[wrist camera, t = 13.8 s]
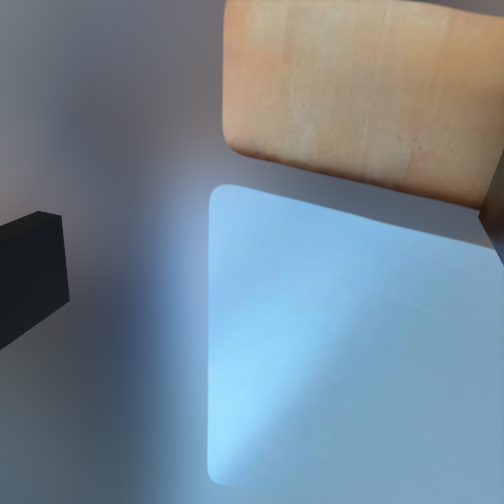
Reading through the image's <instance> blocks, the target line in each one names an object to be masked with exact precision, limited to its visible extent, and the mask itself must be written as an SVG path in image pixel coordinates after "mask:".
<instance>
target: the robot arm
mask: <svg viewBox="0 0 504 504" xmlns="http://www.w3.org/2000/svg"><path fill="white" fill-rule="evenodd" d="M69 301H70V298H69V288H68V279H67V268H66V258H65V248H64V237H63V228H62V217H61V216H60V215H55V214H51V213H46V212H41V211H37V212H34V213H32V214H29V215H27V216H24V217H22V218H19V219H17V220H14V221H12V222H9V223H7V224H4V225H2V226H0V350H1V349H3V348H4V347H6V346H7V345H8V344H10V343H11V342H13V341H14V340H15V339H17V338H18V337H20V336H21V335H23V334H24V333H25V332H27V331H28V330H29V329H31V328H32V327H34V326H35V325H36V324H38V323H39V322H41V321H42V320H44V319H45V318H46V317H48V316H49V315H51V314H52V313H53V312H55V311H56V310H58V309H59V308H60V307H62V306H63V305H65V304H66V303H67V302H69Z"/></svg>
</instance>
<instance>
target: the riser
mask: <svg viewBox="0 0 504 504" xmlns="http://www.w3.org/2000/svg"><path fill="white" fill-rule="evenodd" d="M478 218H479V220H480V222H481V224H482V225H483V227H484V229H485V231H486V233H487V235H488V237H489V238H490V241H491V242H492V245H493V246H494V248H495V250H496V252H497V254H498V256H499V258H500V260H501V262H502V264H503V265H504V151H503V153H502V156H501V159H500V161H499V164H498V166H497V169H496V172H495V174H494V177H493V179H492V182H491V185H490V187H489V190H488V193H487V195H486V198H485V200H484V203H483V206H482V208H481V211H480V214H479V216H478Z"/></svg>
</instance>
